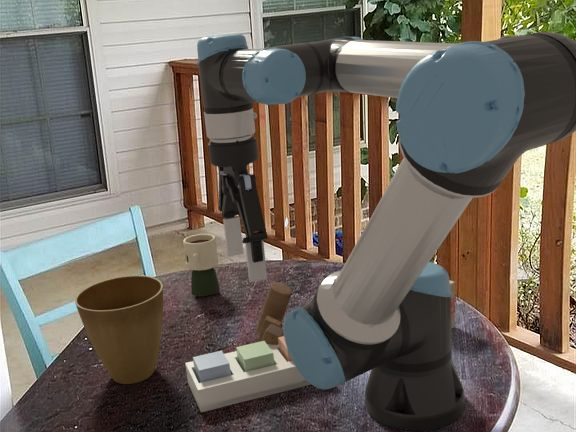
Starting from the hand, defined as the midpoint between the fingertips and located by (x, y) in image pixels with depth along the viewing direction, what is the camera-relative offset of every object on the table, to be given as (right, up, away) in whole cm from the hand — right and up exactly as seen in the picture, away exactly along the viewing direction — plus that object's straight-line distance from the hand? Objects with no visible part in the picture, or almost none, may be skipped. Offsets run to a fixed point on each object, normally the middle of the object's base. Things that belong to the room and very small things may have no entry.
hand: (246, 266), depth 120 cm
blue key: (-6, -19, +2) cm, 20 cm away
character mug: (-11, -9, +45) cm, 47 cm away
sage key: (+1, -17, +5) cm, 18 cm away
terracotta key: (+9, -16, +7) cm, 19 cm away
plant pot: (-21, -20, +12) cm, 31 cm away
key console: (+2, -20, +5) cm, 21 cm away
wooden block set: (+5, -16, +20) cm, 26 cm away
